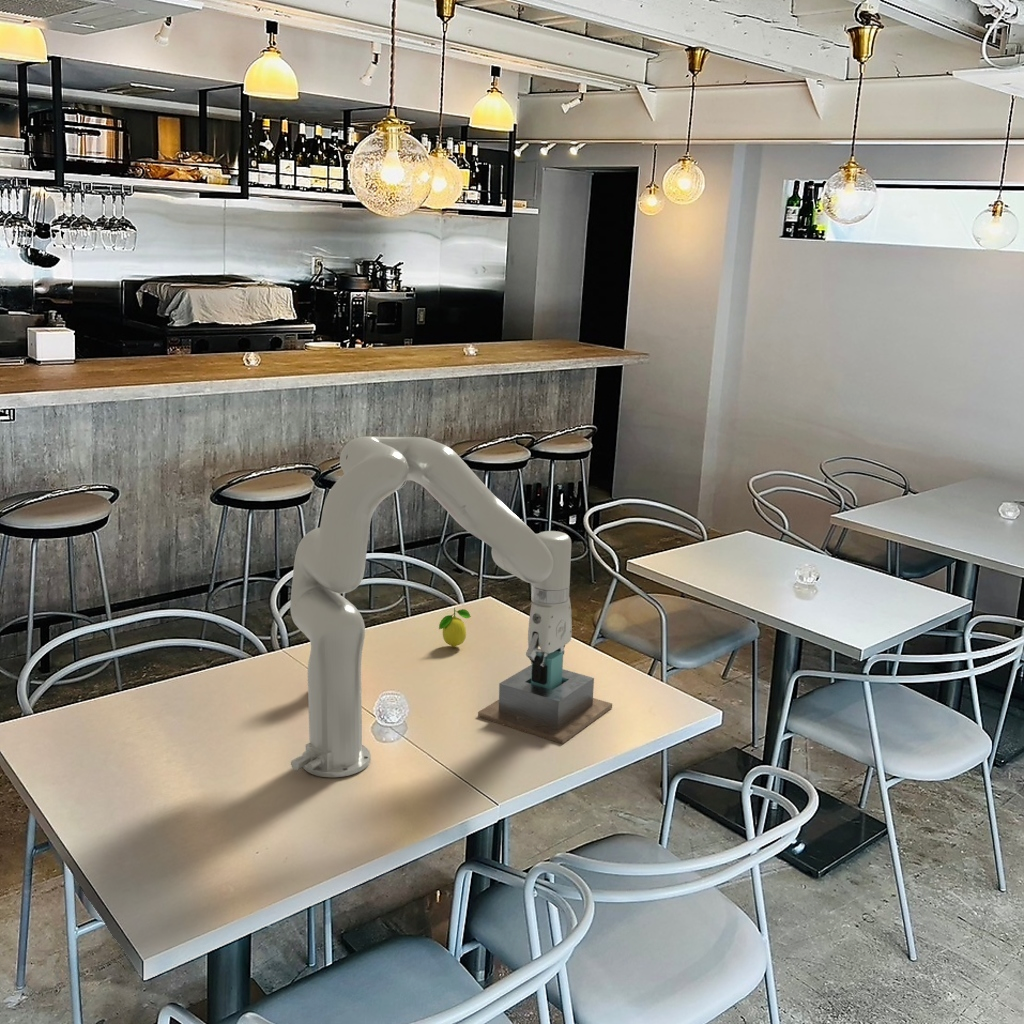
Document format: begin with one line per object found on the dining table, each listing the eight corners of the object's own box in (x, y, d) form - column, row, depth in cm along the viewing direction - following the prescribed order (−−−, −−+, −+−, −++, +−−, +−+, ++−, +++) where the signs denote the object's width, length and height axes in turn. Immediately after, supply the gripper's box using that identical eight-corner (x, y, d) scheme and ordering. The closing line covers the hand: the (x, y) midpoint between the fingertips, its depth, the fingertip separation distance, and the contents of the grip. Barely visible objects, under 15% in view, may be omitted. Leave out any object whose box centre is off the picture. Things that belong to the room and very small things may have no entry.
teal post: (549, 714, 214) (551, 659, 211) (530, 709, 217) (532, 654, 214) (560, 706, 218) (563, 652, 215) (541, 701, 220) (543, 647, 217)
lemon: (470, 643, 253) (470, 603, 251) (466, 652, 247) (467, 612, 245) (442, 641, 254) (442, 602, 251) (438, 650, 248) (438, 610, 245)
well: (562, 744, 204) (564, 710, 203) (478, 716, 215) (478, 684, 213) (612, 708, 220) (613, 676, 219) (531, 684, 231) (532, 654, 229)
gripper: (543, 609, 202) (540, 696, 207) (588, 586, 216) (584, 669, 221) (510, 600, 206) (508, 687, 211) (556, 579, 220) (553, 660, 225)
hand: (547, 677), depth 216 cm, fingers open, 5 cm apart
